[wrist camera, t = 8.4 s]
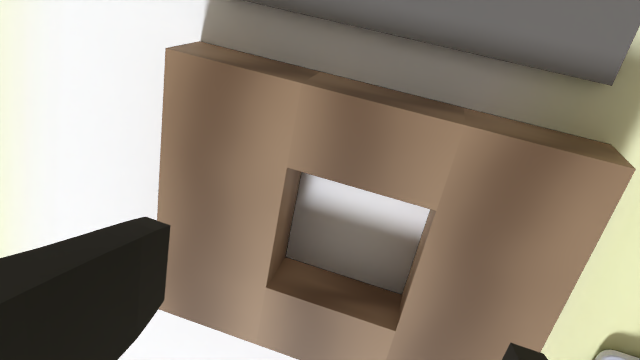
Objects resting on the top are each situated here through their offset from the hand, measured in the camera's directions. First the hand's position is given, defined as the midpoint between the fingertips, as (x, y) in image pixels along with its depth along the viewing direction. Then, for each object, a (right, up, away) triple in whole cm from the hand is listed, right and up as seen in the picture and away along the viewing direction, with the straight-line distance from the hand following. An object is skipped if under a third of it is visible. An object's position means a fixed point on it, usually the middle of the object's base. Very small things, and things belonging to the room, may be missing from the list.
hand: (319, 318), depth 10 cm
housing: (+2, +1, +11) cm, 11 cm away
